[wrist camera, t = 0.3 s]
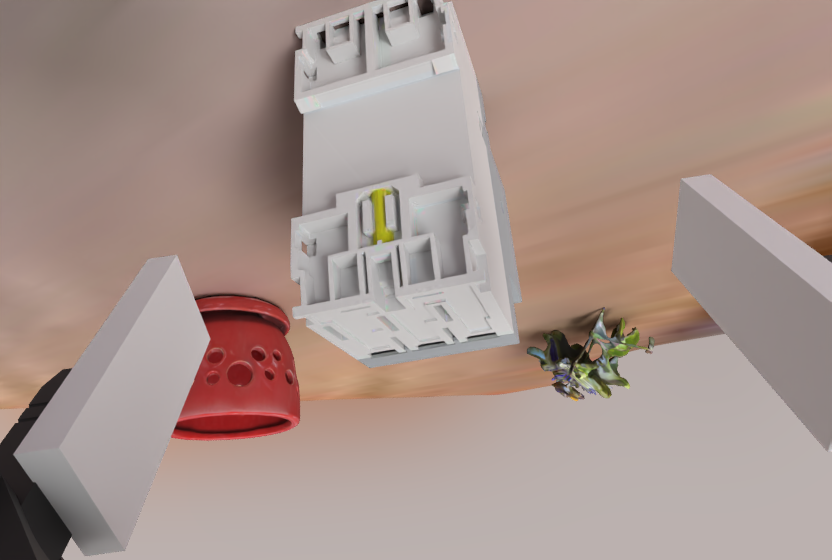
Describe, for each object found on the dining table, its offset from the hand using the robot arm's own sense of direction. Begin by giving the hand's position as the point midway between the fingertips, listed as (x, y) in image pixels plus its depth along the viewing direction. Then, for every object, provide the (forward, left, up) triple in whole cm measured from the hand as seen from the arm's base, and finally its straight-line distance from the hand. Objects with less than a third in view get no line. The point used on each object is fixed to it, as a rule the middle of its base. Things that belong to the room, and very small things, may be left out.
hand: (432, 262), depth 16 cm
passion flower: (+51, +19, -17) cm, 57 cm away
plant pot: (+41, -19, -17) cm, 48 cm away
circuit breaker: (+12, 0, -17) cm, 21 cm away
